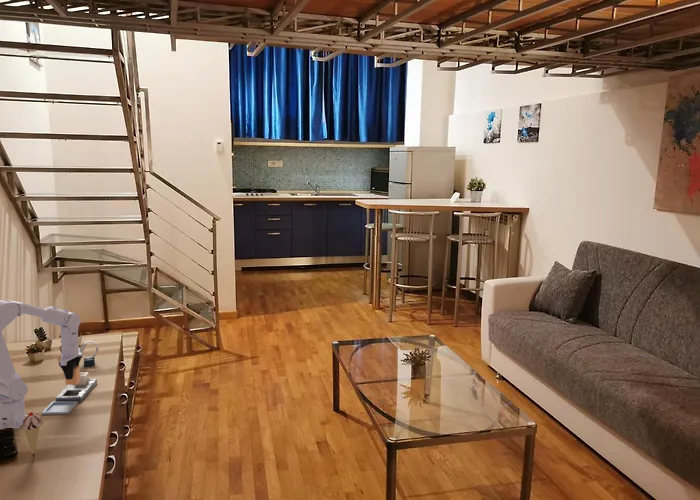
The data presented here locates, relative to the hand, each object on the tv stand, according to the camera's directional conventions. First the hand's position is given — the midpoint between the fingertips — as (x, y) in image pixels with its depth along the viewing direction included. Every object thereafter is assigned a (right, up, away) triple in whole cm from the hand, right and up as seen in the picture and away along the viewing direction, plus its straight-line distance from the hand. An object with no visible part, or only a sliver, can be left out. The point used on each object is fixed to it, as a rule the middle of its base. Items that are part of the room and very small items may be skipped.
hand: (71, 376), depth 201 cm
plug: (0, -2, 0) cm, 2 cm away
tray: (0, -10, -8) cm, 13 cm away
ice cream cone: (+9, -16, -39) cm, 43 cm away
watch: (-11, -3, +36) cm, 38 cm away
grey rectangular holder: (-1, -8, +6) cm, 10 cm away
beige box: (-2, -7, +11) cm, 14 cm away
